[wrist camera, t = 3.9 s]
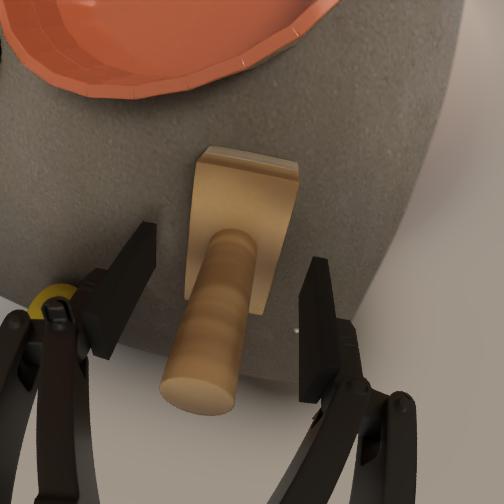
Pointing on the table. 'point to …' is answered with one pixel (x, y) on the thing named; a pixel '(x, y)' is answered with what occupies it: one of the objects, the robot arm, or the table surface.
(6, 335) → the robot arm
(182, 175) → the table surface
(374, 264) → the table surface
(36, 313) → the lemon
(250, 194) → the wooden peg stand
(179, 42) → the terracotta bowl
